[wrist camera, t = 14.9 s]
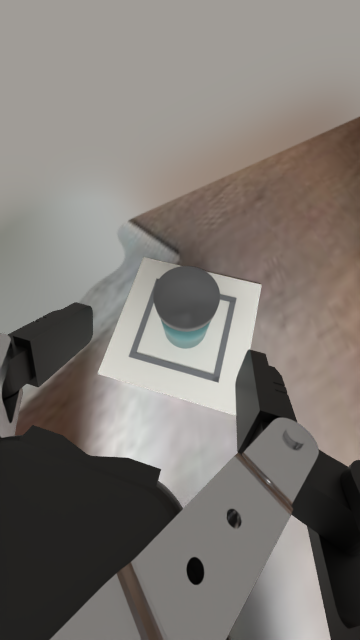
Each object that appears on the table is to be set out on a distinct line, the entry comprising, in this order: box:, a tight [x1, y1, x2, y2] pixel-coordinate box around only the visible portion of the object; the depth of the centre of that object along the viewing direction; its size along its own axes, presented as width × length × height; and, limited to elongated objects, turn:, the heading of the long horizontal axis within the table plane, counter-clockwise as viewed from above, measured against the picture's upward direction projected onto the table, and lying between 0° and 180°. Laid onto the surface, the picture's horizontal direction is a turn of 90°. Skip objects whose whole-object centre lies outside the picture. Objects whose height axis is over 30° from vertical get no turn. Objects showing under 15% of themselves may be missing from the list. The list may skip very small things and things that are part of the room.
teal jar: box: [153, 266, 220, 349], centre depth 18 cm, size 5×5×8 cm
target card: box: [98, 257, 262, 416], centre depth 22 cm, size 14×14×1 cm
